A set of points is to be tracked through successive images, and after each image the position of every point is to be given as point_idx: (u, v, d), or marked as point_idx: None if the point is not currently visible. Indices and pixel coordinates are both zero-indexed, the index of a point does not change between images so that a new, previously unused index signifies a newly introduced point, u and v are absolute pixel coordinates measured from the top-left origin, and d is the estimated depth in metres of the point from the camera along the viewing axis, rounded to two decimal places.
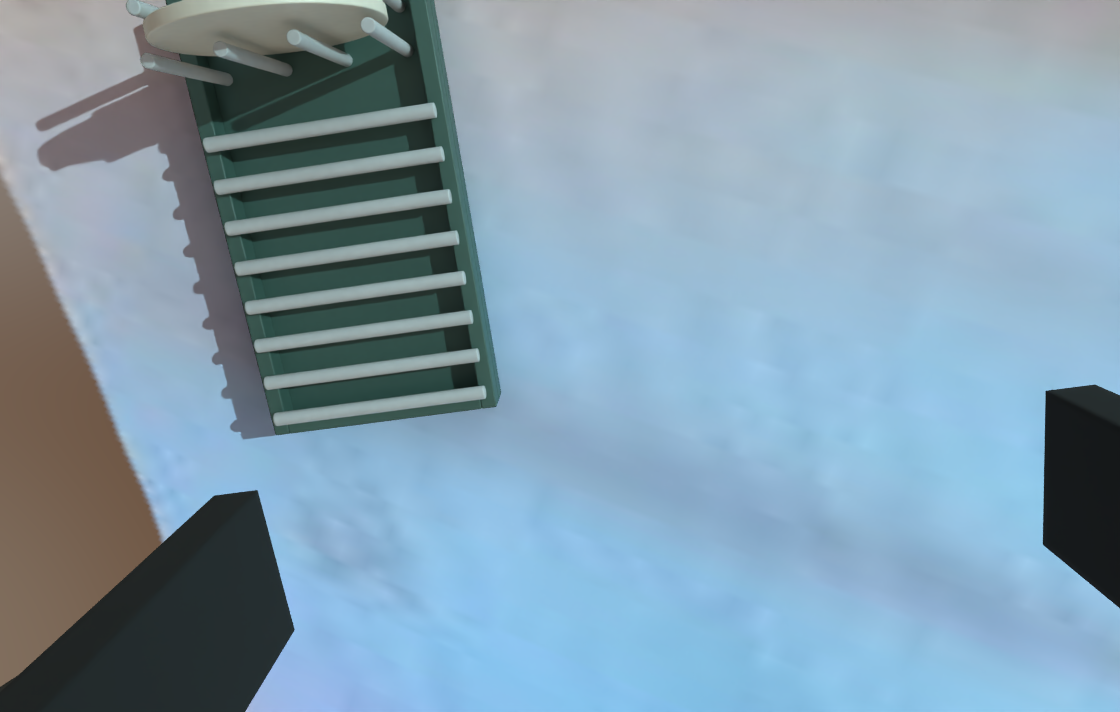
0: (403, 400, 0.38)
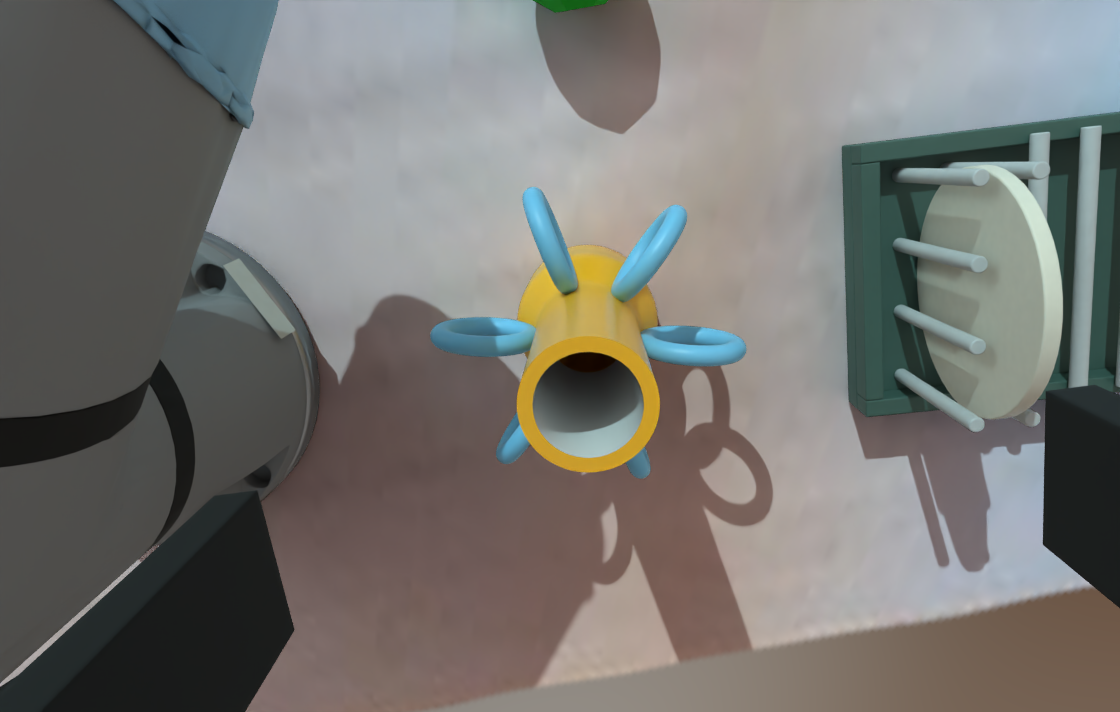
0: None
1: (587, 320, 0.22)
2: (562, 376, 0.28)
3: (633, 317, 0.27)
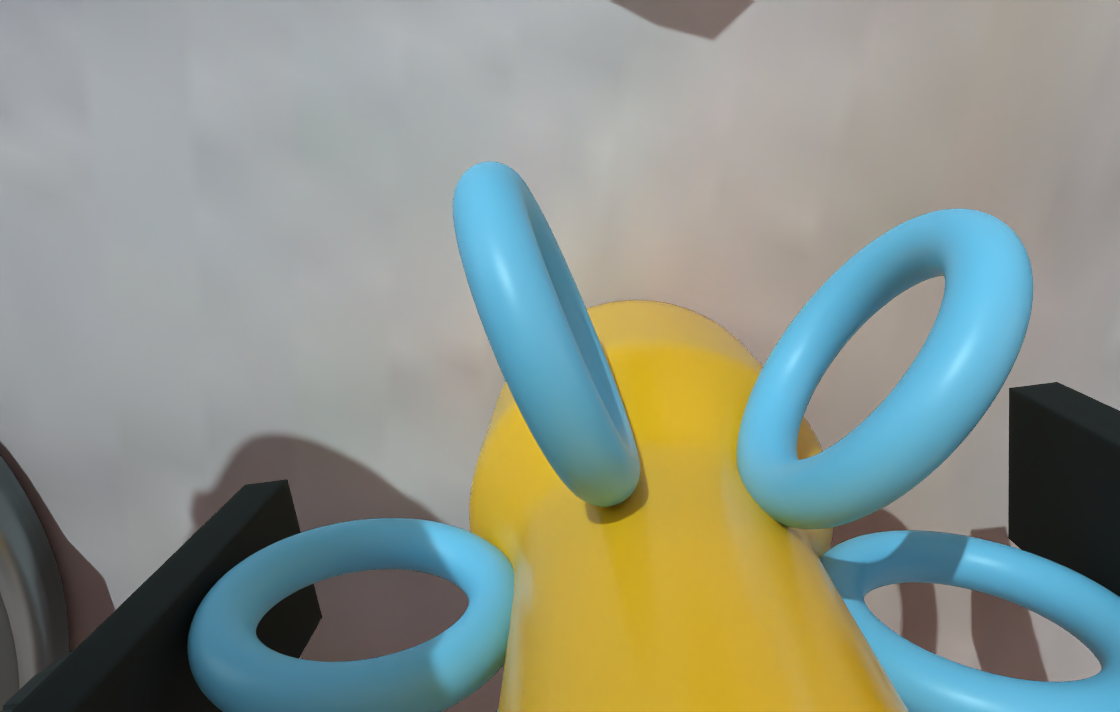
0: None
1: None
2: None
3: (840, 595, 0.08)
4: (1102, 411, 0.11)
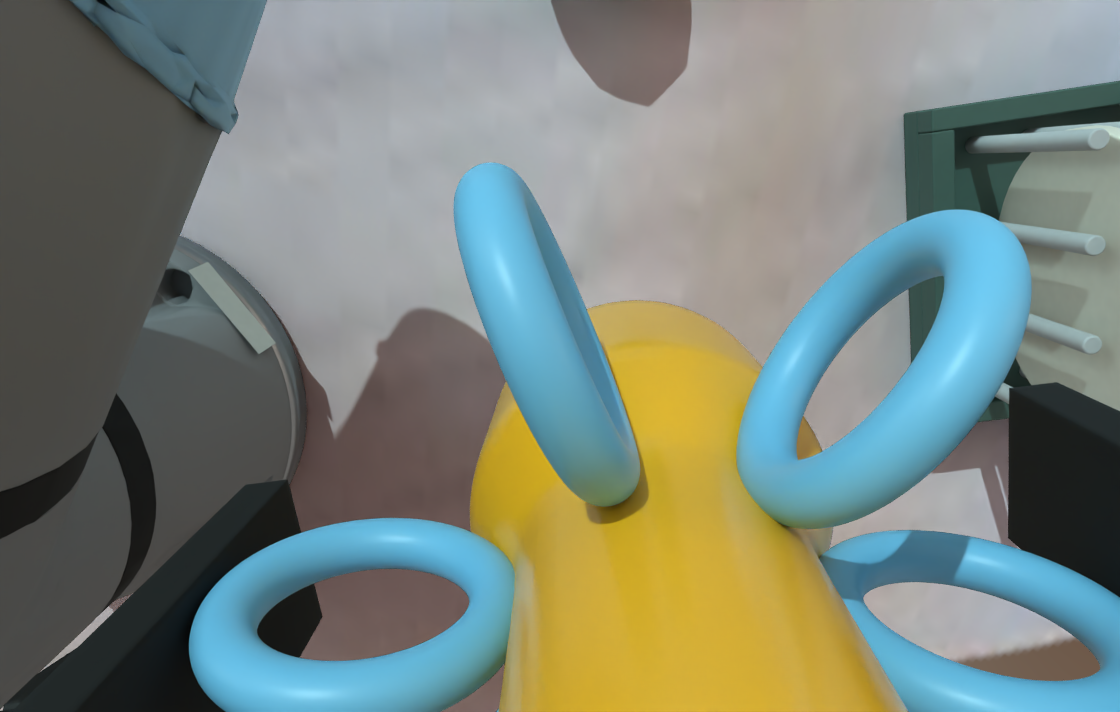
0: None
1: None
2: None
3: (839, 595, 0.08)
4: (1102, 411, 0.11)
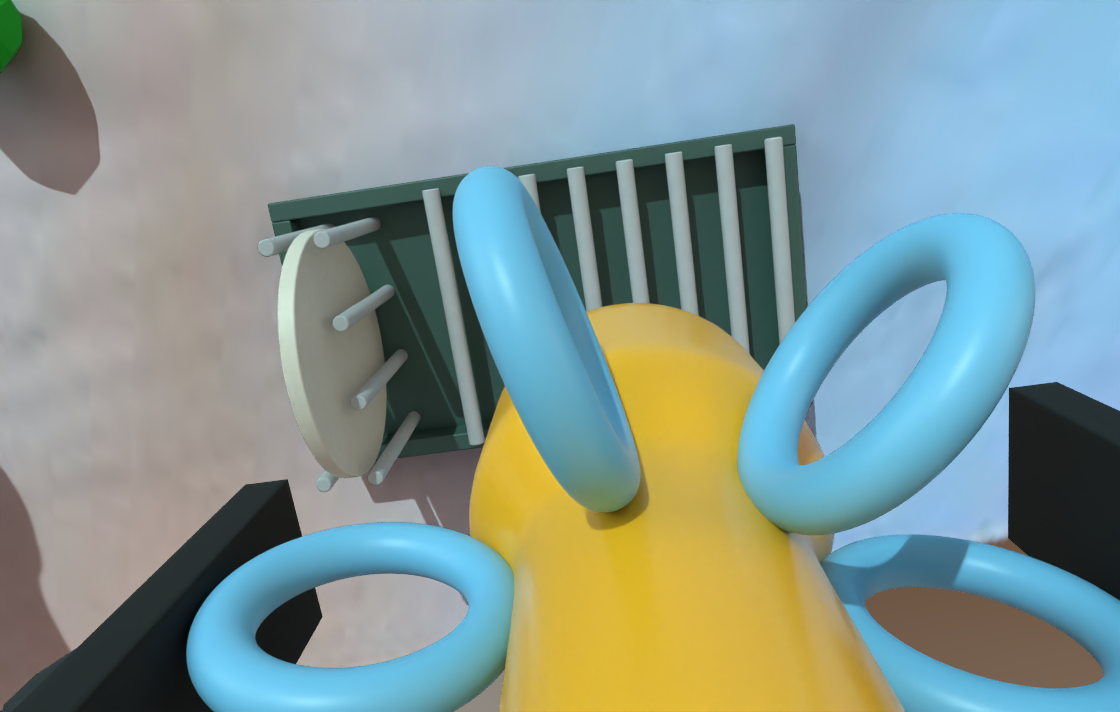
0: (776, 243, 0.31)
1: None
2: None
3: (841, 601, 0.08)
4: (1102, 411, 0.11)
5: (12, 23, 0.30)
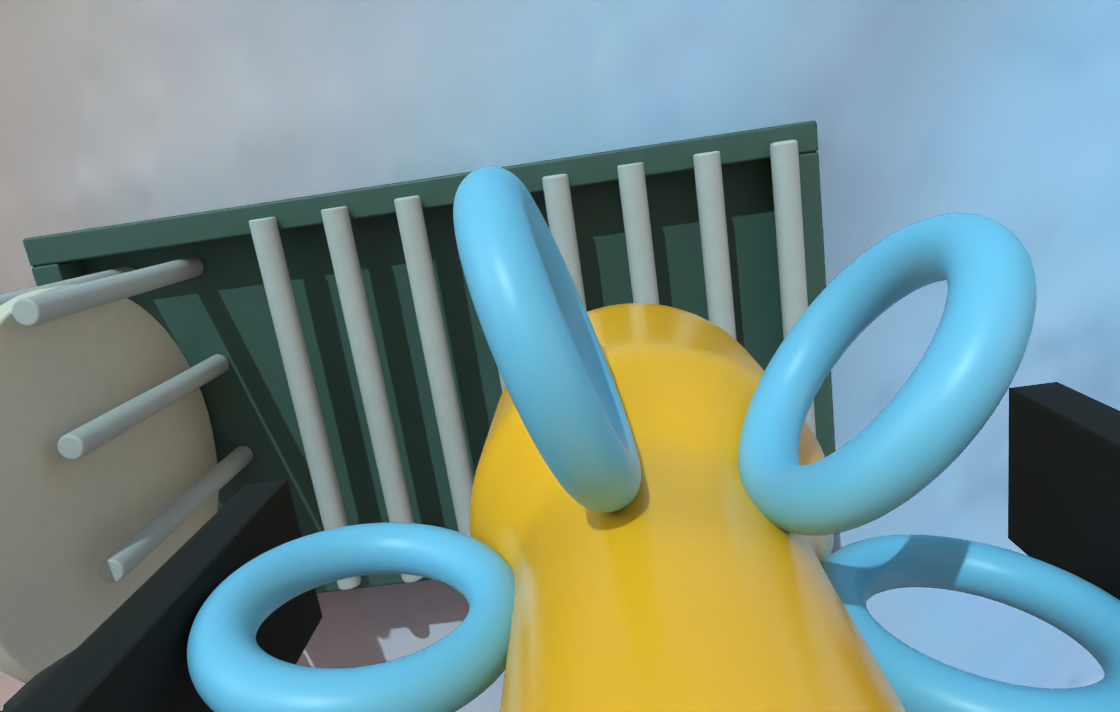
0: (788, 302, 0.20)
1: None
2: None
3: (842, 602, 0.08)
4: (1102, 411, 0.11)
5: None
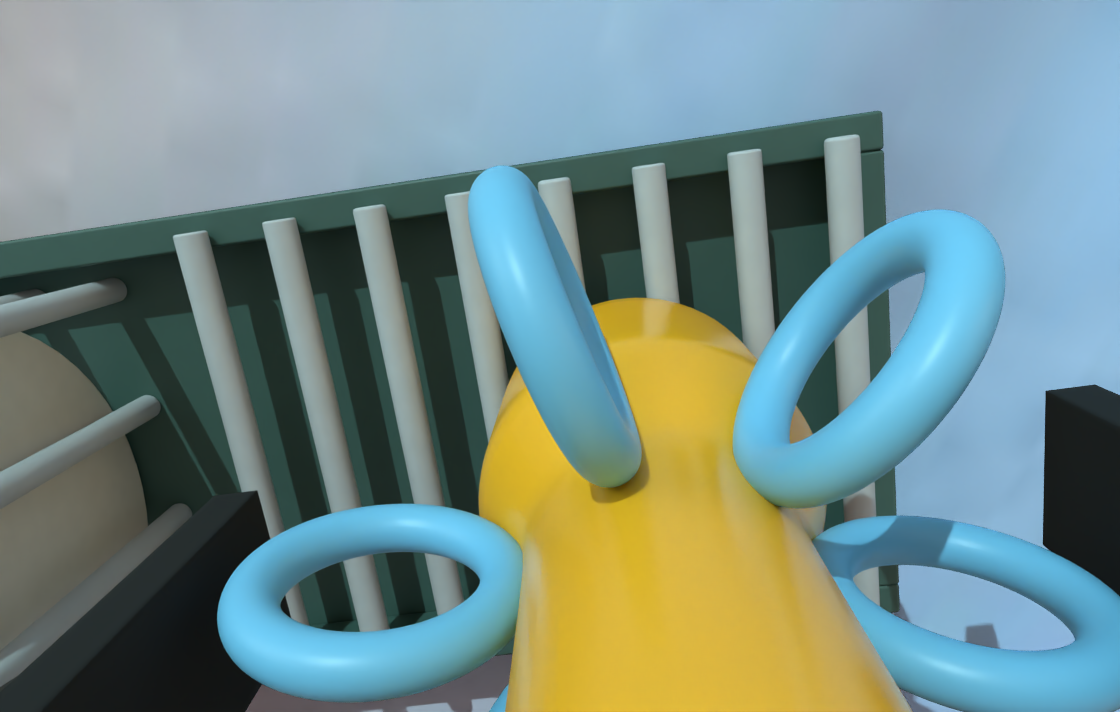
0: (845, 337, 0.16)
1: None
2: None
3: (828, 569, 0.09)
4: None
5: None
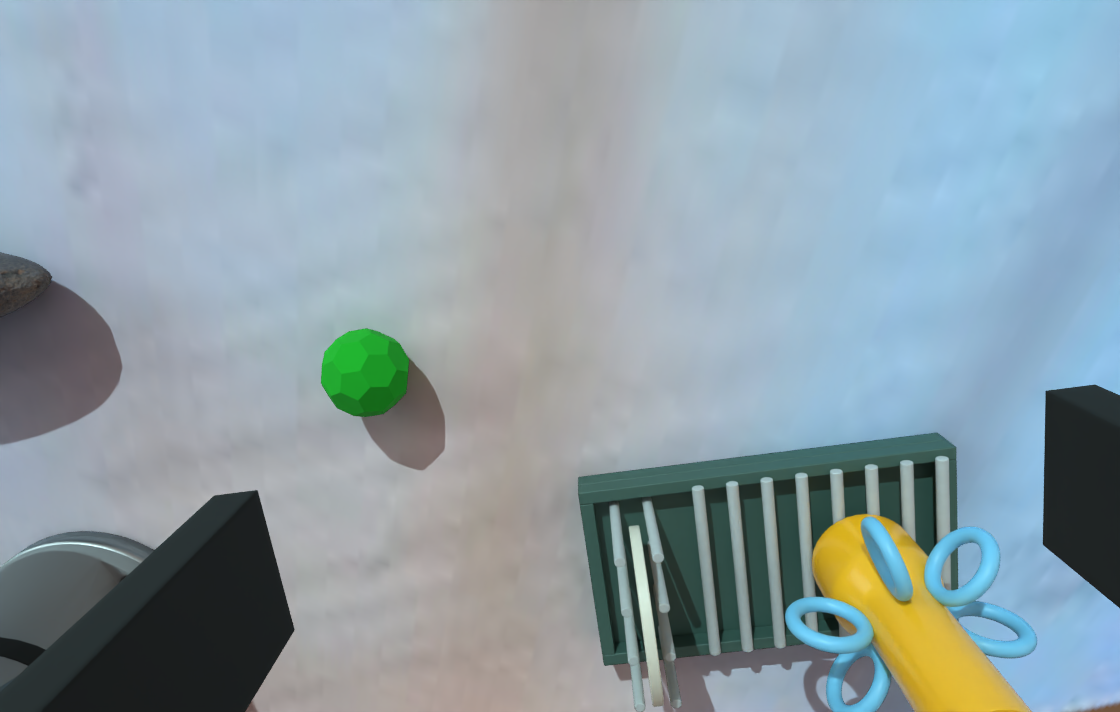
0: (941, 526, 0.44)
1: (976, 673, 0.31)
2: None
3: None
4: None
5: None
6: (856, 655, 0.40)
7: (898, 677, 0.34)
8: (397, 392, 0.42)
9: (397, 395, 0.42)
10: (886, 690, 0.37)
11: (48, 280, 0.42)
